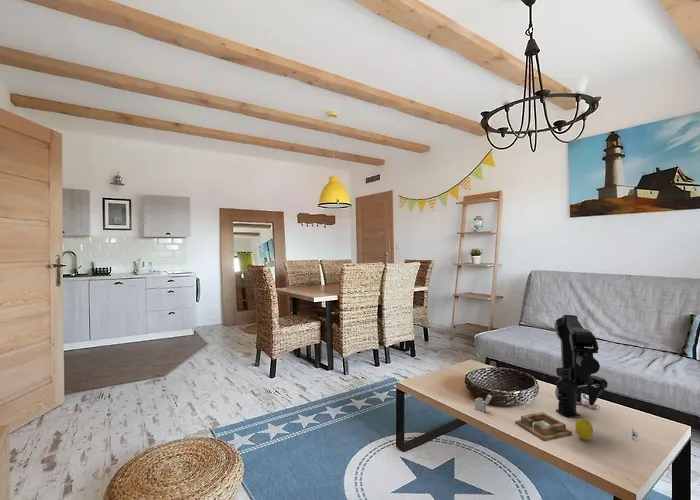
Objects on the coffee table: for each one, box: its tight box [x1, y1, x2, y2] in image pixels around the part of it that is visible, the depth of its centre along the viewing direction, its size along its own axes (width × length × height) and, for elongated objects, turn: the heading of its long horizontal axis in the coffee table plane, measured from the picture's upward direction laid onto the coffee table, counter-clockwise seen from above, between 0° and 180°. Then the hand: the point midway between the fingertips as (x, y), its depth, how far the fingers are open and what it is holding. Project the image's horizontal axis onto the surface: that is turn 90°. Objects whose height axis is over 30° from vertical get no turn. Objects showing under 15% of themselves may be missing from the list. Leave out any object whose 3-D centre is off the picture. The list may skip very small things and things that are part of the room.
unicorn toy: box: [576, 393, 601, 412], centre depth 163 cm, size 6×6×15 cm
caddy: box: [514, 411, 573, 442], centre depth 141 cm, size 14×14×4 cm
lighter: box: [474, 393, 493, 413], centre depth 156 cm, size 7×2×8 cm, turn 42°
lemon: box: [574, 417, 594, 441], centre depth 133 cm, size 6×6×8 cm
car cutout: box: [626, 430, 639, 441], centre depth 138 cm, size 15×7×4 cm, turn 140°
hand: (581, 406), depth 133 cm, fingers open, 9 cm apart
